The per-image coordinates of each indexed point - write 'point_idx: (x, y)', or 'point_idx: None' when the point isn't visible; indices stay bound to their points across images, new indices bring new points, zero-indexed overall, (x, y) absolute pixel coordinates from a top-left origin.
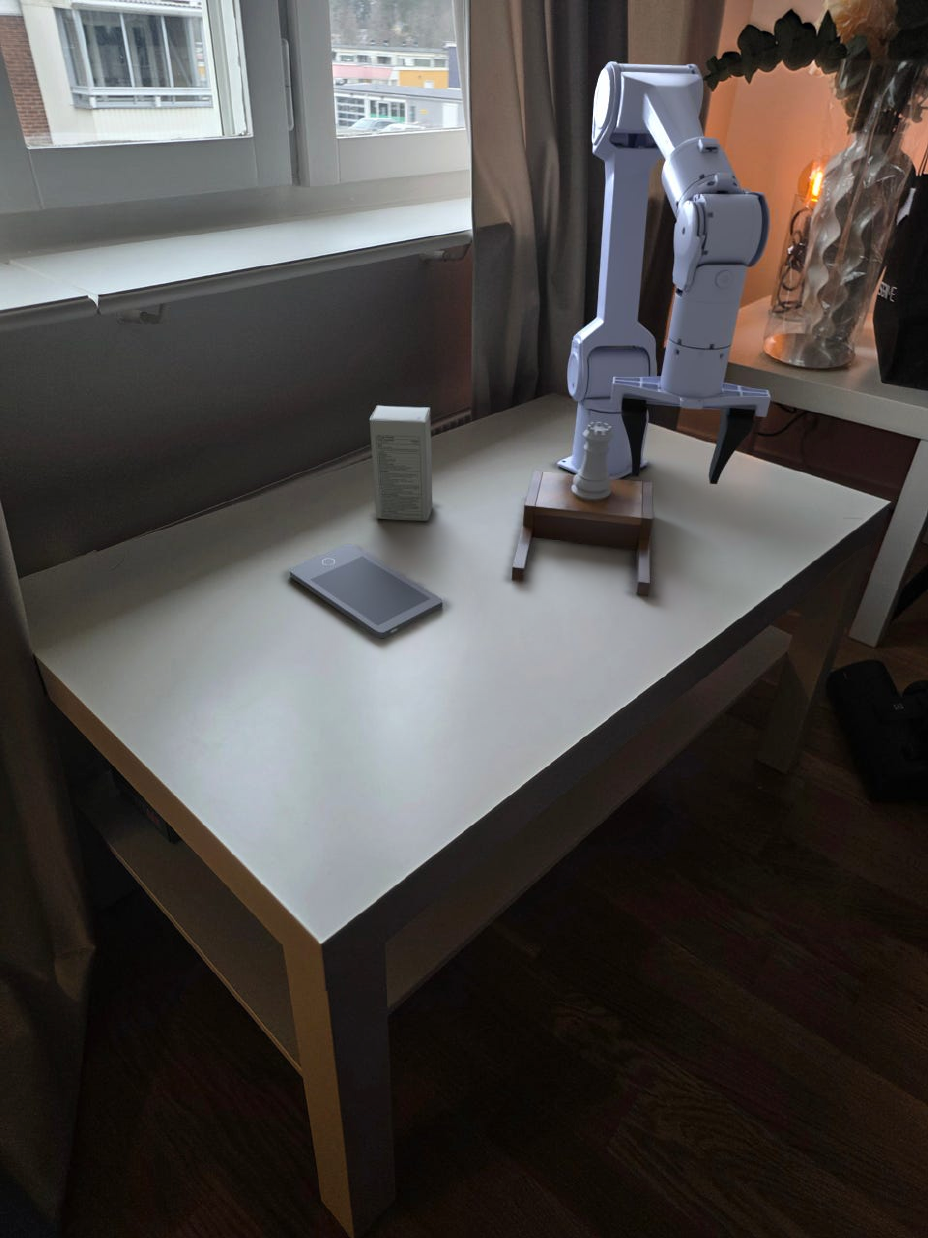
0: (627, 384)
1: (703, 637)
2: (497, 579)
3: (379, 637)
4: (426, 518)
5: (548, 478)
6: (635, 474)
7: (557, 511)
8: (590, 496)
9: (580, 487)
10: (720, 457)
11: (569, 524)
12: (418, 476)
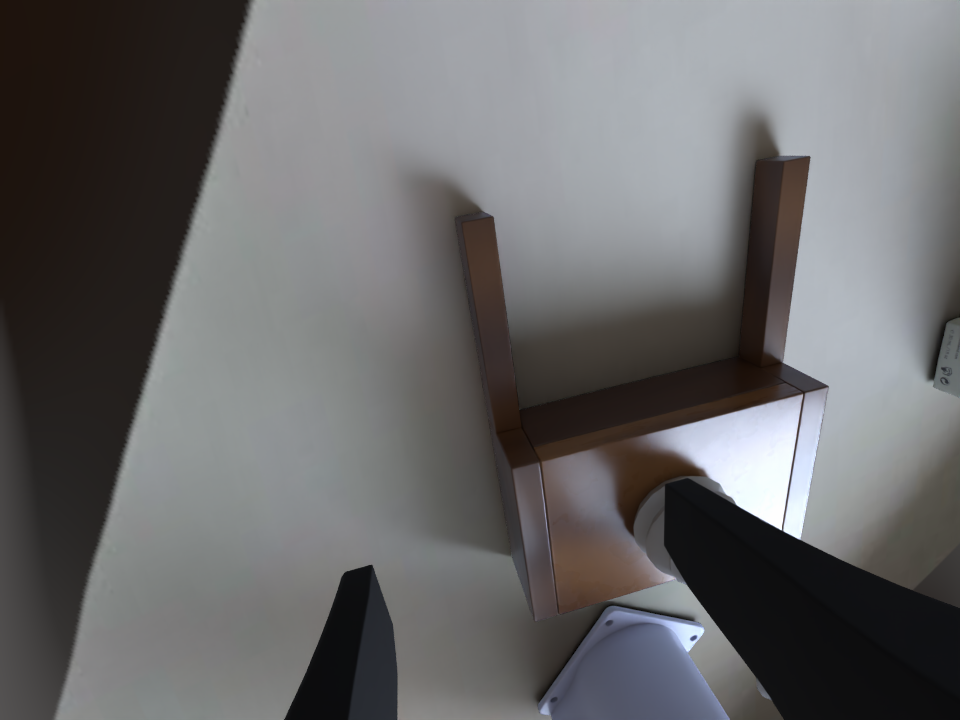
0: None
1: (258, 49)
2: (811, 143)
3: None
4: (955, 322)
5: None
6: (682, 484)
7: (745, 401)
8: None
9: (722, 494)
10: (339, 699)
11: (692, 394)
12: None
